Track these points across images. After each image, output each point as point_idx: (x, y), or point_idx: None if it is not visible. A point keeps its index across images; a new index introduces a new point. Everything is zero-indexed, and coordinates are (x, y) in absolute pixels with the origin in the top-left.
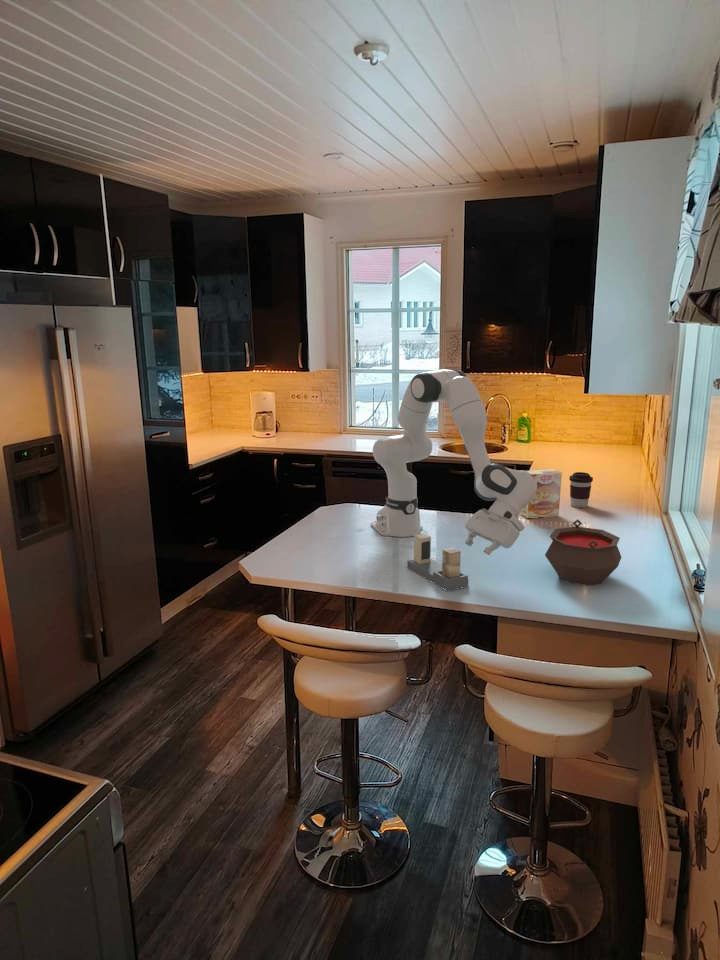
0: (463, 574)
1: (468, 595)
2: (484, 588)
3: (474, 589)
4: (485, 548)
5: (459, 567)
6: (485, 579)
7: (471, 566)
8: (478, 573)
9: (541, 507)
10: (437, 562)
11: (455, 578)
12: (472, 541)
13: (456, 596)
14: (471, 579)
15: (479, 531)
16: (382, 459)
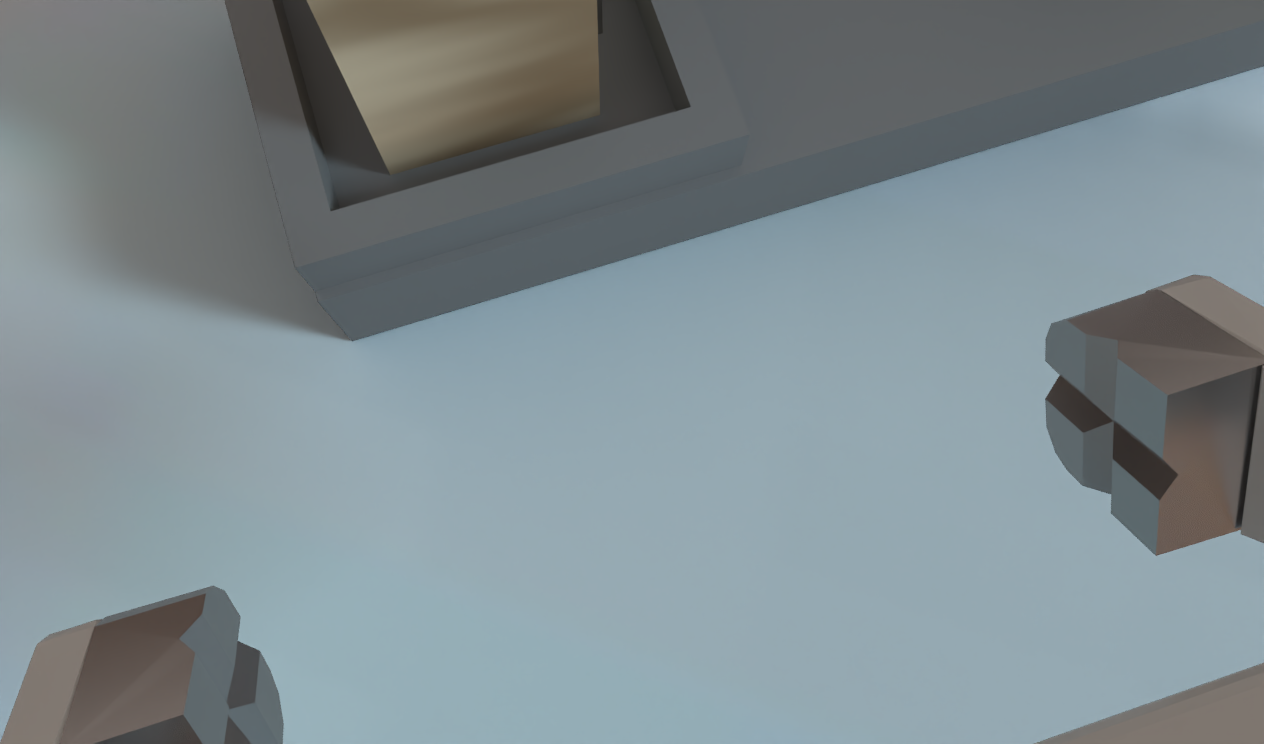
0: (367, 206)
1: (43, 236)
2: (211, 569)
3: (221, 398)
4: (176, 659)
5: (336, 54)
6: (569, 734)
7: None
8: (857, 711)
9: None
10: (1164, 44)
11: (231, 21)
12: (1154, 500)
13: (68, 69)
14: (618, 493)
15: (1241, 733)
16: None
